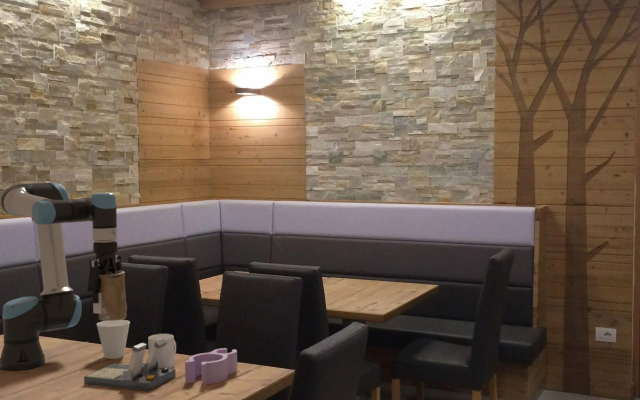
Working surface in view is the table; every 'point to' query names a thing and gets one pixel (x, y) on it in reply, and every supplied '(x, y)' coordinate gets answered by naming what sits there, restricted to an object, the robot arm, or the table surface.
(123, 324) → the cup
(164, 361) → the mug
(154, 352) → the toggle
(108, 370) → the panel
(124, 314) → the mug
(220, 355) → the clip
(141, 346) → the toggle
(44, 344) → the table surface
